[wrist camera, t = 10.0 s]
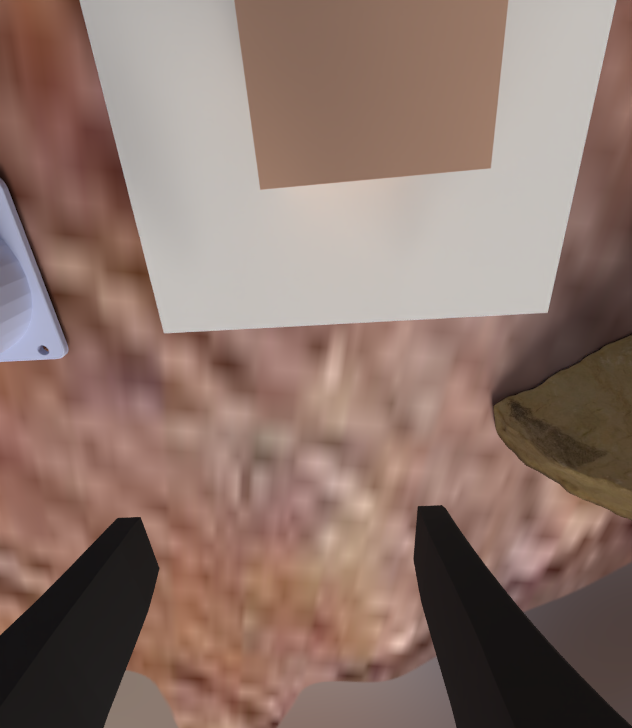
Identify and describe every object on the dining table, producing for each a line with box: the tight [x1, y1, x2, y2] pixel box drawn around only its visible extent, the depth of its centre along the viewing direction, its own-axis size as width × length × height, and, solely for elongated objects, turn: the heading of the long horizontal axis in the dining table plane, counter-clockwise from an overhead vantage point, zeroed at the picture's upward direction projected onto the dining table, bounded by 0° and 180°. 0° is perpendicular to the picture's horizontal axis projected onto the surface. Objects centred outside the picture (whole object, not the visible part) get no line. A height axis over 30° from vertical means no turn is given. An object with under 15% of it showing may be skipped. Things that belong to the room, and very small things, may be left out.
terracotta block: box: [234, 0, 508, 190], centre depth 9 cm, size 4×4×6 cm
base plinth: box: [80, 0, 616, 333], centre depth 13 cm, size 15×15×3 cm
